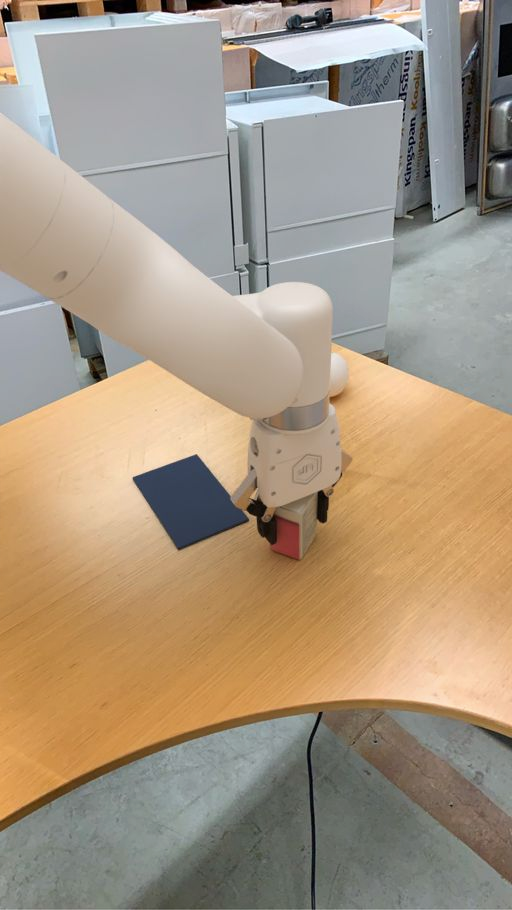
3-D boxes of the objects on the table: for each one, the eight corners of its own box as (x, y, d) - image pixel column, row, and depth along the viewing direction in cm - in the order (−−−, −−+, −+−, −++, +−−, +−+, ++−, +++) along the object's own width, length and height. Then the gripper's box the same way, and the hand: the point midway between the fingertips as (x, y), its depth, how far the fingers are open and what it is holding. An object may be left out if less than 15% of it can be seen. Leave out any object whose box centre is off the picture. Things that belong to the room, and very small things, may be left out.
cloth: (178, 550, 81) (178, 547, 81) (132, 479, 92) (132, 477, 92) (249, 520, 85) (249, 518, 84) (196, 456, 96) (196, 453, 96)
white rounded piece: (348, 344, 100) (273, 335, 103) (341, 402, 102) (268, 392, 105) (360, 338, 111) (291, 331, 114) (353, 391, 113) (286, 383, 116)
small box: (287, 524, 84) (286, 477, 79) (317, 534, 82) (318, 487, 77) (268, 550, 80) (266, 502, 75) (300, 561, 78) (300, 513, 74)
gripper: (236, 447, 63) (244, 574, 74) (382, 395, 69) (369, 519, 80) (203, 410, 68) (215, 533, 79) (341, 365, 74) (335, 485, 85)
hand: (293, 525), depth 79 cm, fingers closed on small box, 6 cm apart
